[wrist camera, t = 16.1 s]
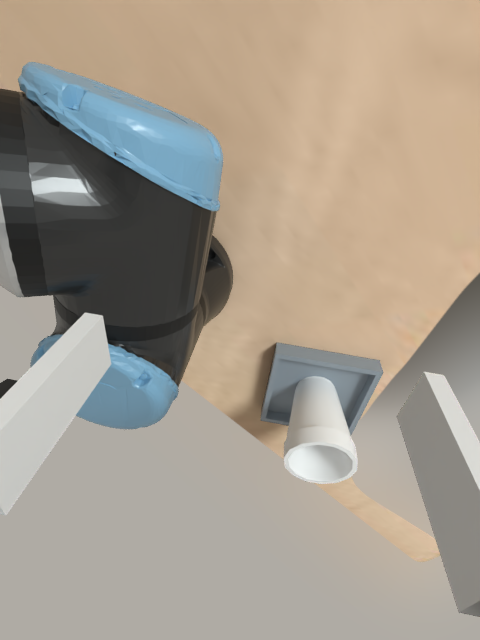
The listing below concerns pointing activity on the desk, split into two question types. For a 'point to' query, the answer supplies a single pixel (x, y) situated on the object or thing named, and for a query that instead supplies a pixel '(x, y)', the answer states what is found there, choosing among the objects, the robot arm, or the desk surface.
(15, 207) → the robot arm
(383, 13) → the desk surface
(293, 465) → the foam cup
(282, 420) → the grey tray
